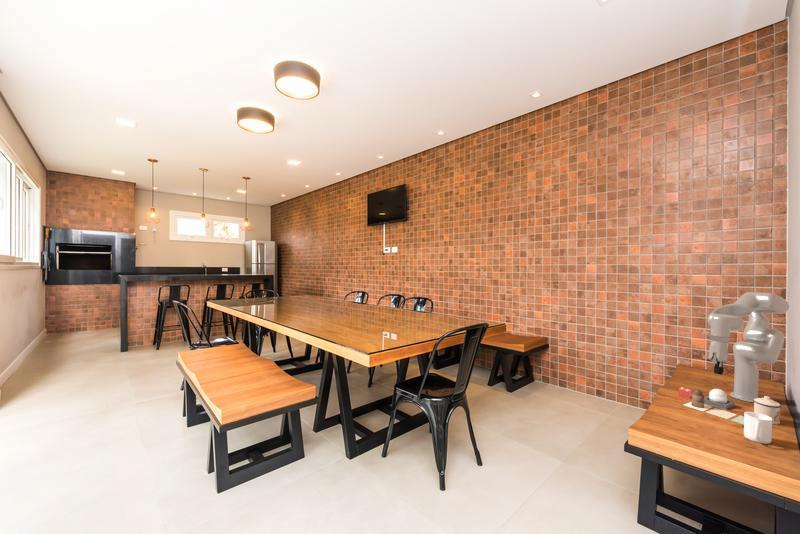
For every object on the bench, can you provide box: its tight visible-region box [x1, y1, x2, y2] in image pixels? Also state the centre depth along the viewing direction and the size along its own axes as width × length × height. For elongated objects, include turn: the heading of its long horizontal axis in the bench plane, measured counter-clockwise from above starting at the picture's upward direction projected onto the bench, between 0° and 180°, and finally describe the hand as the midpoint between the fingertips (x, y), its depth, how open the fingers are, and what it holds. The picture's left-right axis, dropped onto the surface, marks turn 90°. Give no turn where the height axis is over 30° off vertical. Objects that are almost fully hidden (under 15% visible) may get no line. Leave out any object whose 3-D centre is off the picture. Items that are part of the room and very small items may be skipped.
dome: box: [708, 388, 728, 404], centre depth 182 cm, size 7×7×7 cm
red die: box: [678, 386, 692, 400], centre depth 192 cm, size 5×5×6 cm
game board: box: [683, 401, 744, 428], centre depth 171 cm, size 13×30×1 cm, turn 27°
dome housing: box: [704, 395, 736, 410], centre depth 182 cm, size 10×10×3 cm
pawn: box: [691, 389, 705, 408], centre depth 179 cm, size 5×5×9 cm
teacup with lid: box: [753, 395, 782, 426], centre depth 167 cm, size 12×9×12 cm
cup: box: [743, 411, 773, 445], centre depth 147 cm, size 8×12×10 cm
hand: (718, 373), depth 181 cm, fingers closed
